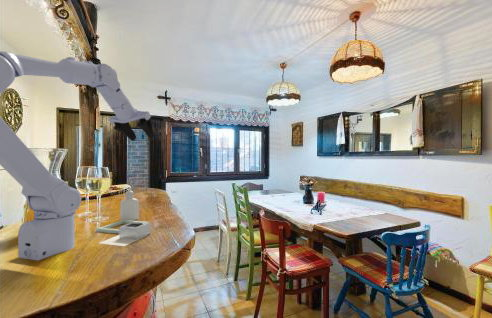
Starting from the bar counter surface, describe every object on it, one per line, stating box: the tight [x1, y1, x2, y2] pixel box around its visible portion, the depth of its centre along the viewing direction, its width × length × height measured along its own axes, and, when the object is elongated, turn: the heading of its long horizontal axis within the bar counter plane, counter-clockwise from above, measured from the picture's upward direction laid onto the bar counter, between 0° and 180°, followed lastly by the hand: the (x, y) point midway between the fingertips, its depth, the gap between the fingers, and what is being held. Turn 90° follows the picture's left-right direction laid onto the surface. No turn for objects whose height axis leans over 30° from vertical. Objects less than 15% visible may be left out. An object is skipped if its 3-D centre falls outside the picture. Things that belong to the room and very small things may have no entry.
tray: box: [96, 219, 150, 235], centre depth 71 cm, size 10×10×2 cm
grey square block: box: [118, 221, 151, 241], centre depth 63 cm, size 5×5×3 cm
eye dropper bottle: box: [120, 187, 140, 221], centre depth 81 cm, size 4×6×12 cm
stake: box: [131, 223, 140, 227], centre depth 63 cm, size 2×2×3 cm
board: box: [98, 234, 148, 247], centre depth 61 cm, size 8×8×1 cm
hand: (143, 137), depth 80 cm, fingers open, 7 cm apart
